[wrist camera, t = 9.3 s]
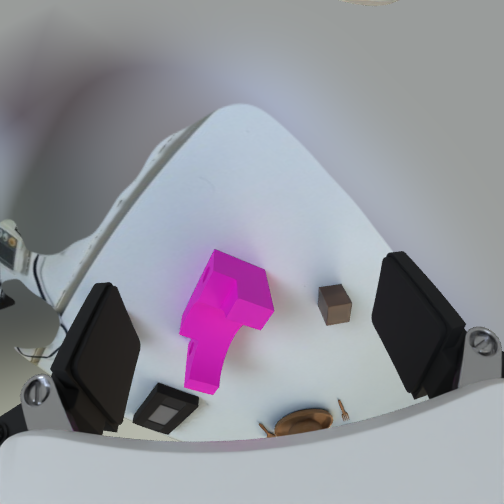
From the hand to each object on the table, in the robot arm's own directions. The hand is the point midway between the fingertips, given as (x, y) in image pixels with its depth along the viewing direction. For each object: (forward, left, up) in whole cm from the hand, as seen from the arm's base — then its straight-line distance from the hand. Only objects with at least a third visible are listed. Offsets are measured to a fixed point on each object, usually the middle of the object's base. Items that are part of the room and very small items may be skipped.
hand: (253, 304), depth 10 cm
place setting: (+52, +9, -21) cm, 57 cm away
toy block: (+16, -5, -21) cm, 27 cm away
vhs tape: (+38, -18, -21) cm, 47 cm away
